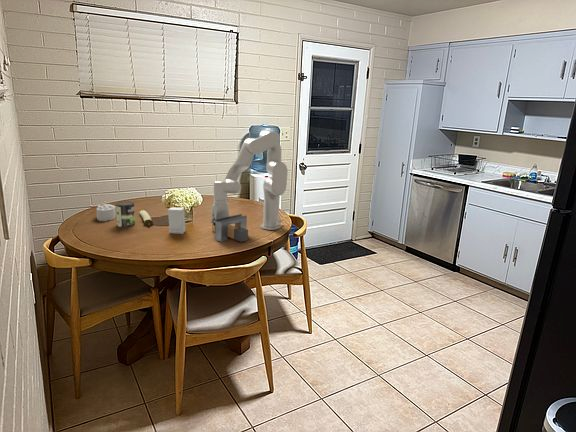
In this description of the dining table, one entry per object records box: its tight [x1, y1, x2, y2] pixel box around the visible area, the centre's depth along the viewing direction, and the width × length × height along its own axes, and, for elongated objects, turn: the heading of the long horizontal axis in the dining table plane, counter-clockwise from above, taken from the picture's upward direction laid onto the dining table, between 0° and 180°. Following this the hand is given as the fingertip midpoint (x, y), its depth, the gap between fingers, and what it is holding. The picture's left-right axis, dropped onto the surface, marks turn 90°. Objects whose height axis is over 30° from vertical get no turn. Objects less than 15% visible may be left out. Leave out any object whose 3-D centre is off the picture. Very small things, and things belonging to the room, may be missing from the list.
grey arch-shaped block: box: [214, 213, 248, 243], centre depth 226 cm, size 19×5×12 cm, turn 139°
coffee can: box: [115, 200, 136, 228], centre depth 237 cm, size 10×10×14 cm
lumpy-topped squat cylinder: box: [95, 203, 117, 222], centre depth 250 cm, size 10×13×9 cm
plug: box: [211, 223, 249, 243], centre depth 228 cm, size 5×26×6 cm, turn 49°
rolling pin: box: [139, 209, 154, 227], centre depth 249 cm, size 32×6×5 cm, turn 26°
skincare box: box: [167, 206, 186, 235], centre depth 229 cm, size 8×6×15 cm
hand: (220, 231), depth 233 cm, fingers closed on plug, 4 cm apart
